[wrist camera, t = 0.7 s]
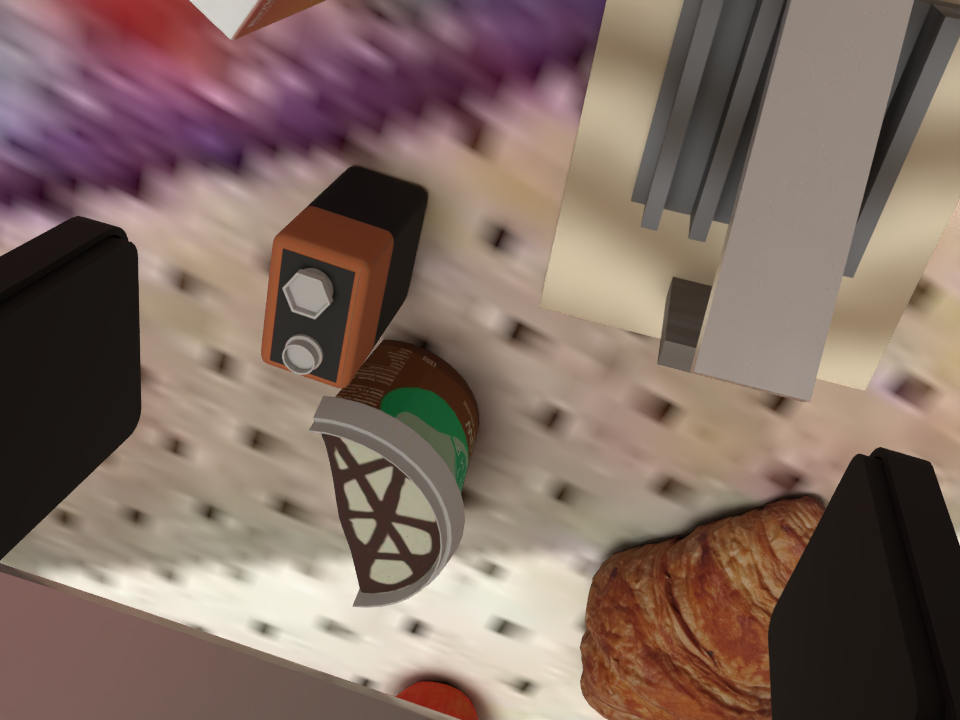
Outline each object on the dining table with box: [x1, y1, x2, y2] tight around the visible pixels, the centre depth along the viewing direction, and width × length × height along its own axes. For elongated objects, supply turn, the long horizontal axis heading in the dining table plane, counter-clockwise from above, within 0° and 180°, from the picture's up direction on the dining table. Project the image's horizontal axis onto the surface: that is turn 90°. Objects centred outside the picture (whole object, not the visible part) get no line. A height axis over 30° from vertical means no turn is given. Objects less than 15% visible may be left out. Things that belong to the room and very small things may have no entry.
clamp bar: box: [690, 0, 914, 402], centre depth 28 cm, size 17×4×1 cm
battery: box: [261, 167, 427, 389], centre depth 41 cm, size 4×7×10 cm, turn 166°
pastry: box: [580, 496, 826, 720], centre depth 50 cm, size 17×15×8 cm
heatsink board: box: [539, 0, 960, 391], centre depth 34 cm, size 24×16×8 cm, turn 171°
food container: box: [309, 340, 479, 608], centre depth 46 cm, size 12×6×10 cm, turn 6°
